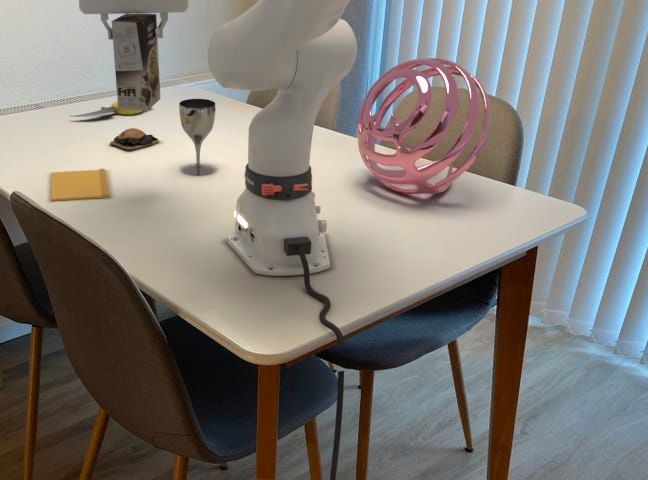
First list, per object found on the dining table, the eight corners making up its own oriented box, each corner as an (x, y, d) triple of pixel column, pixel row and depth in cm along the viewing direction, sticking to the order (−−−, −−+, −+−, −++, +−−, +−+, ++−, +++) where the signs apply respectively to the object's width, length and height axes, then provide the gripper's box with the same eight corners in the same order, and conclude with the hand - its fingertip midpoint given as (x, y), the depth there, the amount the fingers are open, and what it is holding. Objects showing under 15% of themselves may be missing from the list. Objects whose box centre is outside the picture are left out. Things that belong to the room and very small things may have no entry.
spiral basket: (455, 72, 177) (397, 10, 157) (540, 133, 161) (488, 73, 141) (374, 169, 187) (310, 123, 166) (446, 237, 171) (385, 194, 150)
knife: (79, 126, 204) (159, 111, 217) (78, 116, 203) (158, 101, 216) (65, 119, 209) (144, 104, 222) (64, 109, 208) (143, 95, 221)
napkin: (109, 197, 163) (108, 194, 162) (51, 201, 161) (50, 197, 160) (105, 171, 176) (105, 168, 175) (52, 174, 174) (51, 171, 173)
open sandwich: (128, 152, 187) (127, 137, 185) (107, 144, 192) (106, 129, 190) (162, 143, 193) (161, 128, 191) (140, 135, 198) (139, 121, 196)
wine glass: (173, 169, 177) (171, 103, 169) (198, 161, 182) (197, 96, 174) (198, 178, 173) (197, 110, 165) (222, 169, 178) (222, 103, 169)
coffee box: (148, 111, 149) (143, 21, 140) (117, 109, 150) (109, 20, 141) (161, 99, 157) (157, 13, 148) (131, 97, 158) (125, 11, 149)
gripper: (72, -41, 135) (80, 43, 142) (189, -42, 138) (190, 40, 146) (72, -45, 140) (79, 36, 147) (184, -46, 143) (186, 33, 151)
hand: (135, 38), depth 147 cm, fingers closed on coffee box, 7 cm apart
